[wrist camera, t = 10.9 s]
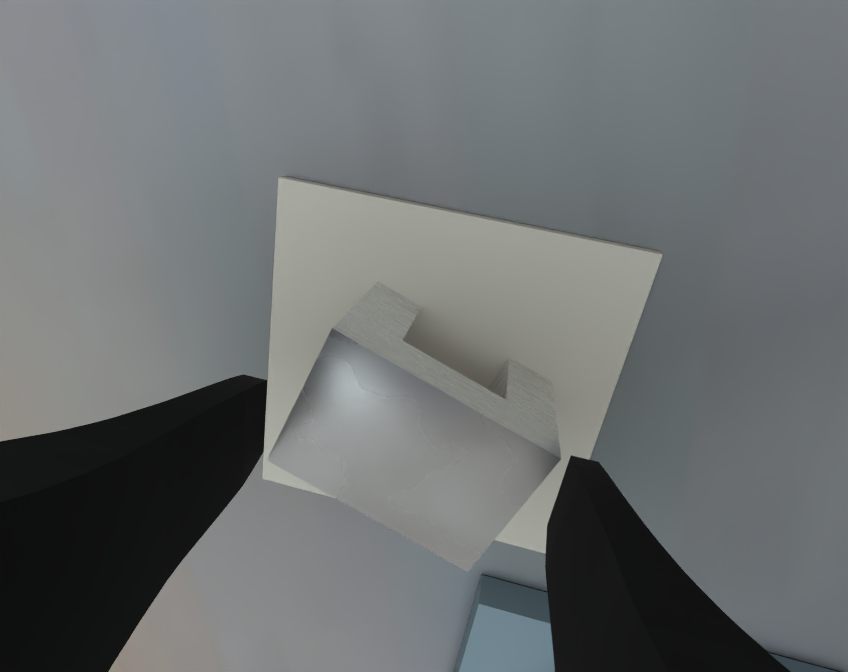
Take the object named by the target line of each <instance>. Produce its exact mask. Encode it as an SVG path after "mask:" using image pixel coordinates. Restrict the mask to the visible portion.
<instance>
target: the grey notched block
mask: <svg viewBox="0 0 848 672" xmlns="http://www.w3.org/2000/svg"><path fill="white" fill-rule="evenodd" d="M420 309H421V306H419V305H418V304H416V303H414V302H412V301H411V300H409V299H407V298H405V297H404V296H402V295H400V294H399V293H397V292H395V291H393V290H392V289H390V288H388V287H386V286H385V285H383V284H381V283H379V282H377V283H376V284H375V285H374V286H373V287H372V288H371V289H370V290H369V291H368V292H367V293H366V294H365V295H364V296H363V297H362V298H361V299H360V300H359V301H358V302H357V303H356V304H355V305H354V306H353V307H352V308H351V309H350V310H349V311H348V312H347V313H346V314H345V315H344V316H343V317H342V318H341V320H340V321H339V322H338V323H337V324H336V325H335V326H334V327H333V328H332V329H331V331H330V333H329V335H328V337H327V339H326V341H325V343H324V345H323V347H322V349H321V351H320V353H319V355H318V357H317V359H316V361H315V363H314V366H313V368H312V370H311V372H310V374H309V376H308V378H307V380H306V382H305V384H304V386H303V388H302V390H301V392H300V394H299V396H298V398H297V400H296V402H295V404H294V406H293V408H292V410H291V412H290V414H289V416H288V418H287V420H286V422H285V424H284V426H283V428H282V430H281V432H280V434H279V436H278V438H277V440H276V442H275V444H274V446H273V448H272V450H271V452H270V454H269V456H268V458H267V461H269V462H271V463H273V464H275V465H276V466H278V467H280V468H282V469H284V470H285V471H287V472H289V473H291V474H292V475H294V476H296V477H298V478H300V479H301V480H303V481H305V482H307V483H309V484H310V485H312V486H314V487H316V488H318V489H319V490H321V491H323V492H325V493H326V494H328V495H330V496H332V497H334V498H335V499H337V500H339V501H341V502H343V503H344V504H346V505H348V506H350V507H351V508H353V509H355V510H357V511H359V512H360V513H362V514H364V515H366V516H368V517H369V518H371V519H373V520H375V521H377V522H378V523H380V524H382V525H384V526H385V527H387V528H389V529H391V530H393V531H394V532H396V533H398V534H400V535H402V536H403V537H405V538H407V539H409V540H410V541H412V542H414V543H416V544H418V545H419V546H421V547H423V548H425V549H427V550H428V551H430V552H432V553H434V554H436V555H437V556H439V557H441V558H443V559H444V560H446V561H448V562H450V563H452V564H453V565H455V566H457V567H459V568H461V569H462V570H464V571H466V572H468V571H469V570H470V569H471V568H472V566H473V565H474V564H475V563H476V562H477V560H478V559H479V558H480V557H481V556H482V554H483V553H484V552H485V551H486V549H487V548H488V547H489V546H490V545H491V543H492V542H493V541H494V540H495V539H496V537H497V536H498V535H499V534H500V533H501V531H502V530H503V529H504V528H505V526H506V525H507V524H508V523H509V522H510V520H511V519H512V518H513V517H514V516H515V514H516V513H517V512H518V511H519V510H520V508H521V507H522V506H523V505H524V504H525V502H526V501H527V500H528V499H529V497H530V496H531V495H532V494H533V493H534V491H535V490H536V489H537V488H538V487H539V485H540V484H541V483H542V482H543V481H544V479H545V478H546V477H547V476H548V474H549V473H550V472H551V471H552V470H553V468H554V467H555V466H556V465H557V464H558V462H559V461H560V460H561V452H560V444H559V435H558V426H557V418H556V409H555V400H554V392H553V383H552V381H550V380H548V379H546V378H545V377H543V376H541V375H539V374H538V373H536V372H534V371H532V370H531V369H529V368H527V367H526V366H524V365H522V364H520V363H519V362H517V361H515V360H513V359H512V358H510V357H509V358H508V359H507V361H506V362H505V364H504V365H503V367H502V368H501V370H500V371H499V372H498V374H497V375H496V377H495V378H494V380H493V381H492V383H491V384H490V385H489V387H488V388H485V387H483V386H481V385H480V384H478V383H476V382H474V381H473V380H471V379H469V378H467V377H466V376H464V375H462V374H460V373H459V372H457V371H455V370H453V369H452V368H450V367H448V366H446V365H445V364H443V363H441V362H439V361H438V360H436V359H434V358H432V357H431V356H429V355H427V354H425V353H424V352H422V351H420V350H418V349H417V348H415V347H413V346H411V345H410V344H408V343H406V342H404V341H403V339H404V337H405V335H406V334H407V332H408V330H409V328H410V326H411V325H412V323H413V321H414V319H415V318H416V316H417V314H418V312H419V311H420Z"/></svg>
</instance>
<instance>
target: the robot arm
mask: <svg viewBox="0 0 848 672" xmlns="http://www.w3.org/2000/svg"><path fill="white" fill-rule="evenodd" d="M266 394H267V380H263V379H259V378H255V377H251V376H247V375H240V376H236V377H233V378H229V379H226V380H223V381H221V382H218V383H215V384H212V385H209V386H207V387H204V388H201V389H198V390H196V391H193V392H190V393H187V394H184V395H182V396H179V397H176V398H173V399H170V400H168V401H165V402H162V403H159V404H155V405H152V406H149V407H146V408H143V409H140V410H137V411H133V412H130V413H127V414H124V415H121V416H117V417H114V418H110V419H107V420H103V421H99V422H95V423H92V424H87V425H83V426H79V427H75V428H70V429H66V430H62V431H57V432H52V433H46V434H41V435H35V436H29V437H24V438H18V439H12V440H7V441H1V442H0V672H108V671H109V669H110V668H111V666H112V664H113V663H114V661H115V660H116V658H117V657H118V655H119V653H120V652H121V650H122V649H123V647H124V645H125V644H126V642H127V641H128V639H129V638H130V636H131V634H132V633H133V631H134V630H135V628H136V626H137V625H138V623H139V622H140V620H141V619H142V617H143V616H144V614H145V613H146V611H147V610H148V608H149V607H150V605H151V604H152V602H153V601H154V599H155V598H156V596H157V595H158V593H159V592H160V590H161V589H162V587H163V586H164V584H165V583H166V581H167V580H168V578H169V577H170V576H171V574H172V573H173V572H174V570H175V569H176V568H177V566H178V565H179V564H180V562H181V561H182V560H183V559H184V557H185V556H186V555H187V554H188V552H189V551H190V550H191V549H192V548H193V546H194V545H195V544H196V543H197V541H198V540H199V539H200V538H201V537H202V535H203V534H204V533H205V532H206V531H207V529H208V528H209V527H210V526H211V524H212V523H213V522H214V521H215V520H216V518H217V517H218V516H219V515H220V513H221V512H222V511H223V510H224V509H225V507H226V506H227V505H228V504H229V502H230V501H231V500H232V499H233V497H234V496H235V495H236V494H237V492H238V491H239V490H240V489H241V487H242V486H243V484H244V483H245V481H246V480H247V478H248V476H249V475H250V473H251V472H252V470H253V468H254V467H255V465H256V463H257V462H258V460H259V458H260V456H261V455H262V453H263V450H264V431H265V413H266ZM545 568H546V581H547V592H548V603H549V613H550V624H551V634H552V645H553V655H554V666H555V672H791V671H790V670H788V669H787V668H786V667H785V666H784V665H782V664H781V663H780V662H779V661H777V660H776V659H775V658H774V657H773V656H772V655H770V654H769V653H768V652H767V651H766V650H765V649H764V648H763V647H761V646H760V645H759V644H758V643H757V642H756V641H755V640H754V639H752V638H751V637H750V636H749V635H748V634H747V633H746V632H744V631H743V630H742V629H741V628H740V627H739V626H738V625H737V624H736V623H735V622H734V621H732V620H731V619H730V618H729V617H728V616H727V615H726V614H725V613H724V612H723V611H722V610H721V609H720V608H719V607H718V606H717V605H716V604H715V603H714V602H713V601H712V600H711V599H710V598H709V597H708V596H707V595H706V594H705V593H704V592H703V591H702V590H701V589H700V588H699V587H698V586H697V585H696V584H695V583H694V582H693V581H692V579H691V578H690V577H689V576H688V575H687V574H686V573H685V572H684V571H683V570H682V569H681V567H680V566H679V565H678V564H677V563H676V562H675V560H674V559H673V558H672V557H671V556H670V555H669V554H668V552H667V551H666V550H665V549H664V548H663V547H662V545H661V544H660V543H659V542H658V540H657V539H656V538H655V537H654V536H653V534H652V533H651V532H650V531H649V529H648V528H647V527H646V525H645V524H644V523H643V522H642V520H641V519H640V518H639V516H638V515H637V514H636V512H635V511H634V510H633V508H632V507H631V506H630V504H629V503H628V502H627V500H626V499H625V497H624V496H623V495H622V493H621V492H620V491H619V489H618V488H617V486H616V485H615V484H614V482H613V481H612V479H611V478H610V477H609V475H608V474H607V472H606V471H605V470H604V468H603V467H602V466H601V464H600V463H599V462H597V461H592V460H588V459H584V458H580V457H576V456H572V455H571V456H570V459H569V462H568V465H567V468H566V471H565V474H564V477H563V480H562V483H561V486H560V489H559V492H558V495H557V498H556V501H555V503H554V506H553V509H552V512H551V515H550V518H549V521H548V524H547V536H546V566H545Z"/></svg>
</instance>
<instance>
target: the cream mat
mask: <svg viewBox="0 0 848 672" xmlns="http://www.w3.org/2000/svg"><path fill="white" fill-rule="evenodd" d="M662 256H663V254H661V253H660V252H659V251H655V250H650V249H645V248H640V247H635V246H630V245H625V244H620V243H615V242H610V241H605V240H600V239H595V238H590V237H585V236H580V235H575V234H570V233H565V232H560V231H556V230H551V229H546V228H541V227H536V226H531V225H526V224H521V223H516V222H511V221H506V220H501V219H496V218H491V217H486V216H481V215H476V214H471V213H466V212H461V211H456V210H451V209H446V208H441V207H436V206H431V205H426V204H421V203H416V202H411V201H406V200H401V199H396V198H391V197H386V196H381V195H376V194H371V193H366V192H361V191H356V190H351V189H346V188H341V187H336V186H331V185H326V184H321V183H316V182H311V181H306V180H301V179H296V178H291V177H286V176H284V177H279V179H278V198H277V216H276V235H275V254H274V272H273V291H272V310H271V328H270V347H269V366H268V384H267V403H266V422H265V440H264V459H263V478H262V479H265V480H269V481H273V482H277V483H280V484H284V485H288V486H292V487H295V488H299V489H303V490H307V491H311V492H314V493H318V494H322V495H326V496H330V495H328V494H326V493H325V492H323V491H321V490H319V489H318V488H316V487H314V486H312V485H310V484H309V483H307V482H305V481H303V480H301V479H300V478H298V477H296V476H294V475H292V474H291V473H289V472H287V471H285V470H284V469H282V468H280V467H278V466H276V465H275V464H273V463H271V462H269V461H267V458H268V456H269V454H270V452H271V450H272V448H273V446H274V444H275V442H276V440H277V438H278V436H279V434H280V432H281V430H282V428H283V426H284V424H285V422H286V420H287V418H288V416H289V414H290V412H291V410H292V408H293V406H294V404H295V402H296V400H297V398H298V396H299V394H300V392H301V390H302V388H303V386H304V384H305V382H306V380H307V378H308V376H309V374H310V372H311V370H312V368H313V366H314V363H315V361H316V359H317V357H318V355H319V353H320V351H321V349H322V347H323V345H324V343H325V341H326V339H327V337H328V335H329V333H330V331H331V329H332V328H333V327H334V326H335V325H336V324H337V323H338V322H339V321H340V320H341V318H342V317H343V316H344V315H345V314H346V313H347V312H348V311H349V310H350V309H351V308H352V307H353V306H354V305H355V304H356V303H357V302H358V301H359V300H360V299H361V298H362V297H363V296H364V295H365V294H366V293H367V292H368V291H369V290H370V289H371V288H372V287H373V286H374V285H375V284H376V283H377V282H379V283H381V284H383V285H385V286H386V287H388V288H390V289H392V290H393V291H395V292H397V293H399V294H400V295H402V296H404V297H405V298H407V299H409V300H411V301H412V302H414V303H416V304H418V305H419V306H421V309H420V311H419V312H418V314H417V316H416V318H415V319H414V321H413V323H412V325H411V326H410V328H409V330H408V332H407V334H406V335H405V337H404V339H403V341H404V342H406V343H408V344H410V345H411V346H413V347H415V348H417V349H418V350H420V351H422V352H424V353H425V354H427V355H429V356H431V357H432V358H434V359H436V360H438V361H439V362H441V363H443V364H445V365H446V366H448V367H450V368H452V369H453V370H455V371H457V372H459V373H460V374H462V375H464V376H466V377H467V378H469V379H471V380H473V381H474V382H476V383H478V384H480V385H481V386H483V387H485V388H488V387H489V385H490V384H491V383H492V381H493V380H494V378H495V377H496V375H497V374H498V372H499V371H500V370H501V368H502V367H503V365H504V364H505V362H506V361H507V359H508V358H509V357H510V358H512V359H513V360H515V361H517V362H519V363H520V364H522V365H524V366H526V367H527V368H529V369H531V370H532V371H534V372H536V373H538V374H539V375H541V376H543V377H545V378H546V379H548V380H550V381H552V383H553V392H554V400H555V409H556V418H557V426H558V435H559V444H560V452H561V460H560V461H559V462H558V464H557V465H556V466H555V467H554V468H553V470H552V471H551V472H550V473H549V474H548V476H547V477H546V478H545V479H544V481H543V482H542V483H541V484H540V485H539V487H538V488H537V489H536V490H535V491H534V493H533V494H532V495H531V496H530V497H529V499H528V500H527V501H526V502H525V504H524V505H523V506H522V507H521V508H520V510H519V511H518V512H517V513H516V514H515V516H514V517H513V518H512V519H511V520H510V522H509V523H508V524H507V525H506V526H505V528H504V529H503V530H502V531H501V533H500V534H499V535H498V536H497V537H496V539H495V540H496V541H500V542H503V543H507V544H511V545H515V546H519V547H522V548H526V549H530V550H534V551H537V552H541V553H545V554H546V536H547V524H548V521H549V518H550V515H551V512H552V509H553V506H554V503H555V501H556V498H557V495H558V492H559V489H560V486H561V483H562V480H563V477H564V474H565V471H566V468H567V465H568V462H569V459H570V456H571V455H572V456H576V457H580V458H584V459H588V460H589V459H590V457H591V454H592V451H593V448H594V446H595V443H596V440H597V437H598V434H599V432H600V429H601V426H602V423H603V420H604V418H605V415H606V412H607V409H608V406H609V404H610V401H611V398H612V395H613V392H614V390H615V387H616V384H617V381H618V378H619V376H620V373H621V370H622V367H623V365H624V362H625V359H626V356H627V353H628V351H629V348H630V345H631V342H632V339H633V337H634V334H635V331H636V328H637V325H638V323H639V320H640V317H641V314H642V311H643V309H644V306H645V303H646V300H647V297H648V295H649V292H650V289H651V286H652V284H653V281H654V278H655V275H656V272H657V270H658V267H659V264H660V261H661V258H662ZM330 497H332V496H330ZM333 498H334V497H333Z"/></svg>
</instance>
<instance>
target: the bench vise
mask: <svg viewBox="0 0 848 672" xmlns="http://www.w3.org/2000/svg"><path fill="white" fill-rule="evenodd" d="M769 654H770V655H772V656H773V657H774V658H775V659H776V660H777V661H779V662H780V663H781V664H782V665H784V666H785V667H786V668H787V669H788V670H790V671H791V672H837V671H833V670H830V669H826V668H822V667H819V666H815V665H811V664H808V663H804V662H800V661H796V660H793V659H789V658H785V657H782V656H778V655H774V654H771V653H769ZM454 672H555V666H554V655H553V645H552V634H551V624H550V613H549V603H548V593H547V592H543V591H539V590H536V589H532V588H528V587H525V586H521V585H517V584H514V583H510V582H506V581H502V580H499V579H495V578H491V577H488V576H484V575H481V579H480V582H479V586H478V589H477V593H476V596H475V600H474V603H473V607H472V610H471V613H470V617H469V620H468V624H467V627H466V631H465V634H464V638H463V641H462V645H461V648H460V652H459V655H458V659H457V662H456V665H455V669H454Z"/></svg>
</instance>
